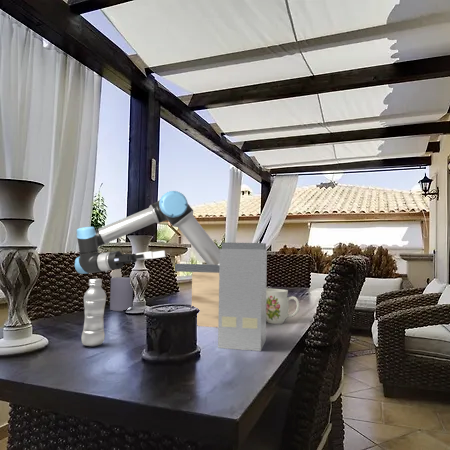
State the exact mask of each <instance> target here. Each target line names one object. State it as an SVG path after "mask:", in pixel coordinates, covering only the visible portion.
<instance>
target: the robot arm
mask: <svg viewBox="0 0 450 450" xmlns="http://www.w3.org/2000/svg"><path fill="white" fill-rule="evenodd" d="M166 221H167V222H168V223H170V224H171V226H172V227H175V228H178V229H179V231H180V232H181V234H182V235H183V236H184V237H185V238H186V240H187V241H188V242H189V243H190V245H191V246H192V247H193V248H194V249H195V251H196V253H198V255H199V256H200V258H201V259H202V260H203V261H204V262H205V264H211V265H220V248H219V247H218V246H217V244H216V243H215V242H214V240H213V239H212V238H211V237H210V235H209V234H208V233H207V231H206V230H205V229H204V227H202V225H201V224H200V222H199V221H198V220H197V219H196V217H195V216H194V209H193V208H192V206H191V205H190V204H189V203H188V199H187V198H186V196H185V195H184V194H183V193H182V192H180V191H177V190H171V191H170V190H169V191H167V192H165V193H163V195H161V197H160V198H159V200H158V201H155V202H154V203H152V204H150V205H149V207H148V208H145V209H143V210H140V211H138V212H135V213H133V214H130V215H129V216H125V217H124V218H122V219H119V220H117V221H114V222H111V223H110V224H107V225H105V226H102V227H99V228H97V229H96V228H95V227H94V226H83V227H79V228H77V229H76V239H77V243H78V244H77V245H78V251H79V256H77V257H76V258H75V260H74V268H75V271H76V273H78V274H81V275H83V274H95V273H100V272H105V273H108V271H112V270H120V269H122V268H124V267H123V266H124V264H131V263H137V261H143V260H153V259H159V258H160V259H161V258H166V257H167V256H166V250H158V251H157V250H156V251H153V250H152V251H151V250H149V251H144V252H137V253H124V254H123V253H122V252H121V251H119V250H115V251H110V252H109V251H108V252H107V251H106V252H102V253H99V247H102V246H103V245H106V244H108V243H111V242H112V241H114V240H117V239H119V238H121V237H124V236H127V235H128V234H129V235H130V234H131V233H134V232H136V231H138V230H141V229H143V228H145V227H148V226H150V225H153V224H155V223H156V224H161V223H163V222H166Z"/></svg>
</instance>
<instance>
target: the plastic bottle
mask: <svg viewBox="0 0 450 450" xmlns="http://www.w3.org/2000/svg"><path fill="white" fill-rule="evenodd" d="M102 282H103V280H102V279H101V278H89V279H88V286H89V288H88V289H87V290H86V291H85V293H84V295H83V308H84V323H83V330H82V332H81V343H82V345H83V346H86V347H97V346H100V345H103V343H104V341H105V336H106V335H105V329H104V314H105V307H106V301H107V294H106V291H105V290H104V289H103V287H102V286H103V283H102Z"/></svg>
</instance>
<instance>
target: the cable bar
mask: <svg viewBox="0 0 450 450" xmlns="http://www.w3.org/2000/svg"><path fill="white" fill-rule="evenodd" d="M219 267H220V265H211V264H207V263H205V264H203V263H175V265H174V271H175V272H176V273H177V272H180V273H192V272H208V273H219Z"/></svg>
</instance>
